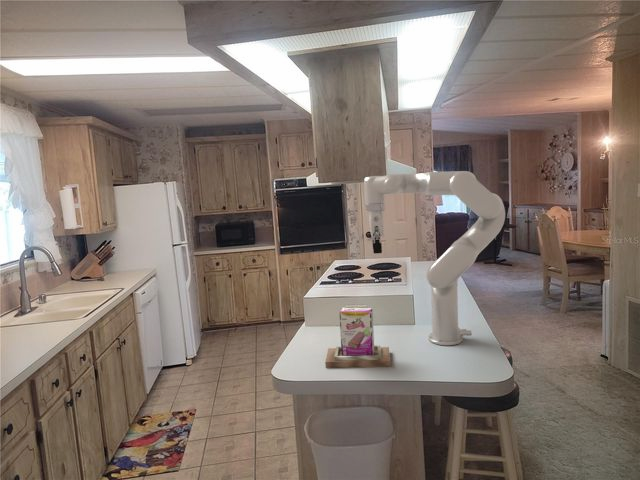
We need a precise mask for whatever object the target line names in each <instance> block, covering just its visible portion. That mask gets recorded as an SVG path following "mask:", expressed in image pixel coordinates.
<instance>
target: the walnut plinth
mask: <svg viewBox="0 0 640 480" xmlns="http://www.w3.org/2000/svg"><path fill="white" fill-rule="evenodd" d="M391 361H392V360H391V354H390V347H389V346H381V345H378V344H377V345H376V344H374V354H373V355H366V356H342V351H341V345H338V346H335V348H333V347H331V348H327V353H326V358H325V362H324V363H325V364H324V365H325V368H327V369H329V368H372V367H373V368H376V367H377V368H379V367H380V368H381V367H387V368H388V367H389V368H390V367H392V366H391V365H392V363H391Z"/></svg>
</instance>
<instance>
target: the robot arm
mask: <svg viewBox="0 0 640 480" xmlns="http://www.w3.org/2000/svg"><path fill="white" fill-rule="evenodd" d="M363 181H364V182H363V183H364V184H363V185H364V186H363V187H364V205H365V213H368V219H369V223H368V224H369V231H370V235H371V236H370V237H371V238H372V241H371V242H372V250H373V252H372V253H373V254H382V252H383V249H382V248H383V247H382V243H383V242H381V241H382V238H384V237H385V232H384V231H385V229H384V214H383V212H385V211H386V206H385V204H386V200H385V195H396V194H424V195H427V196H455V197H457V198H458V200H460V201H461V202H462V203H463V204H464V205H465V206H466V207H467V208H468V209H470V210H471V211H472V212H473V213H474V214H475V215H476V216H478V218H477V220H476V221H475V223H473V224H472V225H471V227H470V228H469V229H468V230H466V232H465V233H464V234H463V235H462V236H460V237H459V238H458V239H457V240H455V241H454V242H453V243H452V244H451V245H450V246H449V247H448V248H447V250H445V251H444V252H443V254H441V256H439V257H438V258H437V259H436V260H435V261H433V262H432V263H431V265H430V266H429V267H428V269H427V271H426V281H427V283H428V285H430V288H431V289H430V294H431V295H430V296H431V323H432V325H431V326H432V327H431V330H432V331H431V333H430V334H429V335H428V341H429V342H431V343H432V344H434V345H438V346H439V345H440V346H455V345H458V344H461V343H462V342H463V340H464V336H466V337H467V336H472V333H473V332H472V329H471V330H469V329H468V330H467V328H460V327H459V316H458V315H459V309H458V307H459V302H458V300H459V299H458V292H459V291H458V286H459V285H458V283H459V281H458V279H460V277H462V275H463V274H464V273H465V272H466V271H468V270H469V268H471V266H472V265H474V263H475V262H476V260H477V258H478V255H479V254H481V252H482V251H483V250H484V249H486V247H487V246H489V244H490V243H491V242H492V241H493V240H494V239H495V238H496V237H497V236H498V234H499V233H500V232H501V230H502V228H503V226H504V224H505V220H506V209H505V208H506V207H505V206H504V202H503V200H502V198H501V197H500V196H499V195H498V194H496V193H494V192H491V191H490V190H489V189H488V188H486V187H485V186H484V185H483V184H482V183H481V182H480V181H479V180H477V177H476V175H475V174H474V173H473V172H471V171H467V170H460V171H458V170H456V171H427V172H424V173H391V174H386V175H373V176H372V175H371V176H367V177H365V178H364V179H363ZM381 237H382V238H381Z"/></svg>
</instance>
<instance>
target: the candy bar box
mask: <svg viewBox="0 0 640 480" xmlns="http://www.w3.org/2000/svg"><path fill="white" fill-rule="evenodd" d="M373 311H374V310H373V308H372V307H341V309H340V310H339V329H340V346H341V351H342V356H366V355H373V354H374V345H375V334H374V332H375V331H374V312H373Z"/></svg>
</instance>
